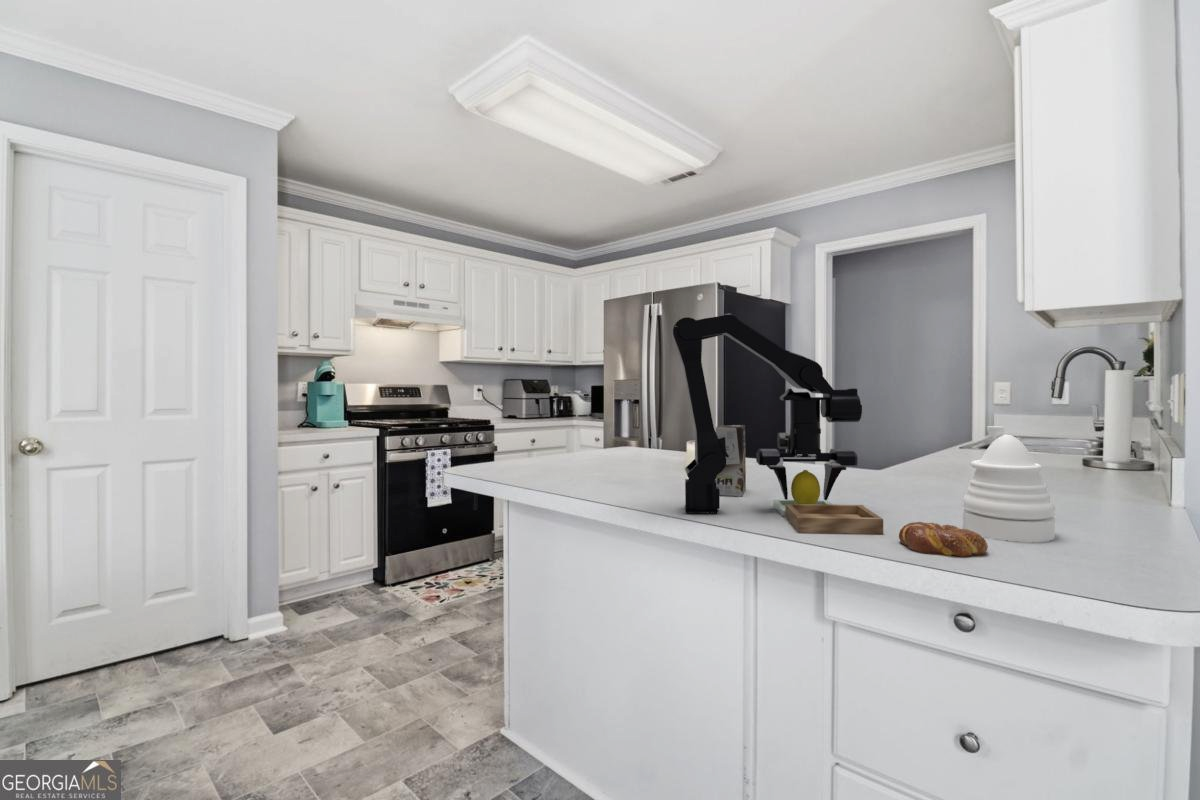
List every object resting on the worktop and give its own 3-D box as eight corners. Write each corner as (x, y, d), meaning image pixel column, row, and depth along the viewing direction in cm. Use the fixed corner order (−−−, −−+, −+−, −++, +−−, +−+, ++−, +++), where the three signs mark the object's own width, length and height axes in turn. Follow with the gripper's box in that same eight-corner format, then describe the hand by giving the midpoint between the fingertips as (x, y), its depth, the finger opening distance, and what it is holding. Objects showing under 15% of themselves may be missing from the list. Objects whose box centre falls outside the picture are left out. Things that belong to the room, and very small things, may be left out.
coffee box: (743, 497, 135) (742, 427, 135) (715, 495, 137) (714, 426, 137) (746, 490, 144) (746, 424, 143) (720, 489, 146) (719, 424, 146)
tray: (798, 532, 102) (798, 517, 102) (785, 517, 114) (785, 504, 114) (883, 534, 100) (883, 519, 100) (861, 518, 112) (861, 504, 112)
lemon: (822, 512, 116) (822, 472, 116) (793, 511, 117) (792, 471, 117) (817, 506, 121) (817, 468, 121) (789, 506, 122) (789, 467, 122)
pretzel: (995, 549, 91) (995, 525, 91) (978, 564, 83) (978, 538, 83) (911, 536, 100) (911, 514, 100) (889, 549, 92) (888, 525, 92)
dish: (782, 516, 114) (782, 510, 114) (773, 505, 125) (773, 499, 125) (841, 517, 113) (841, 511, 113) (827, 506, 124) (827, 500, 124)
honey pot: (945, 528, 104) (945, 426, 103) (993, 521, 109) (993, 424, 108) (1023, 546, 92) (1023, 431, 91) (1072, 537, 97) (1072, 428, 96)
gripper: (842, 420, 125) (842, 493, 126) (752, 420, 128) (753, 492, 128) (858, 423, 114) (858, 503, 115) (759, 423, 117) (760, 502, 117)
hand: (805, 499), depth 119 cm, fingers open, 7 cm apart
